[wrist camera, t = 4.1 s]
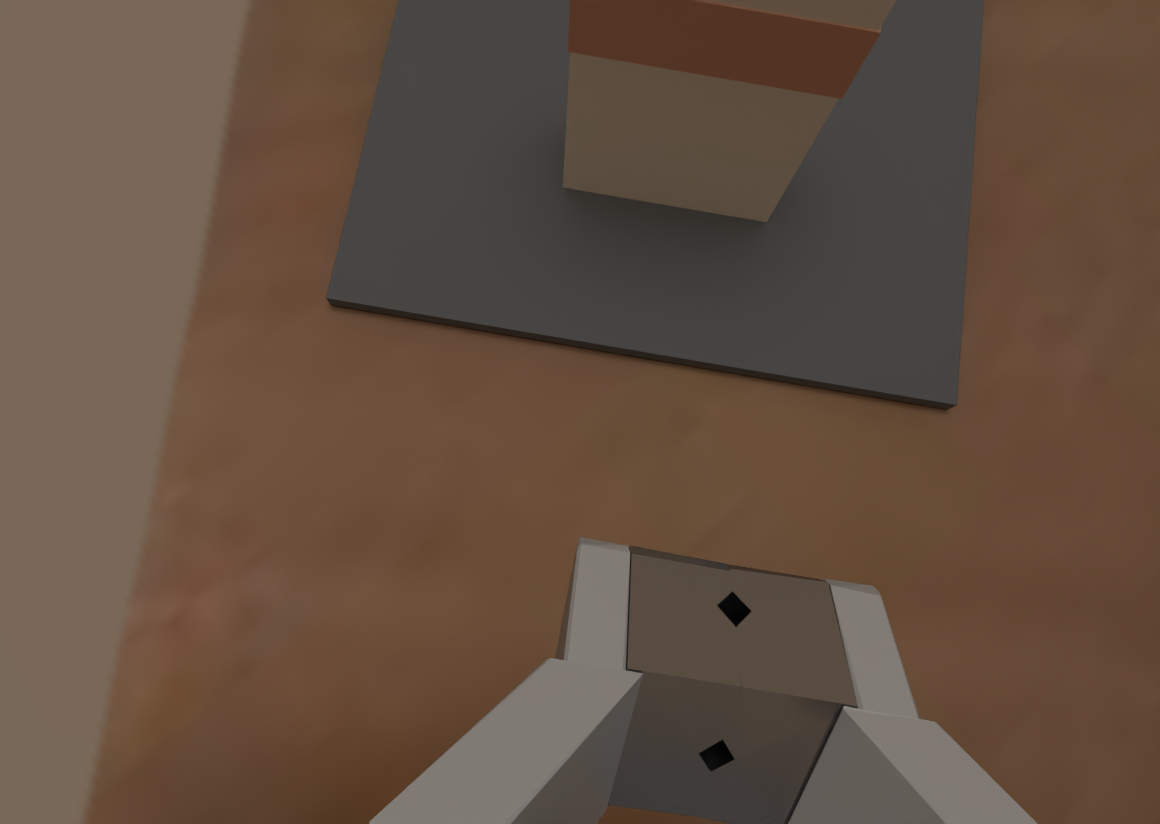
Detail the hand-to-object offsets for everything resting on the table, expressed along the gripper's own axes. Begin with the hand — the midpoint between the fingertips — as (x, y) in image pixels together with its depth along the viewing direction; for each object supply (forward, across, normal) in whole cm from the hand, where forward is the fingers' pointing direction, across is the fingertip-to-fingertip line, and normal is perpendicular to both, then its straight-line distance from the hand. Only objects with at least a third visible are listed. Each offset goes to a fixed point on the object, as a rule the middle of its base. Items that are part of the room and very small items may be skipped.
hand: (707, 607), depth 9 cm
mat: (+25, 0, -2) cm, 25 cm away
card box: (+21, 0, +2) cm, 21 cm away
